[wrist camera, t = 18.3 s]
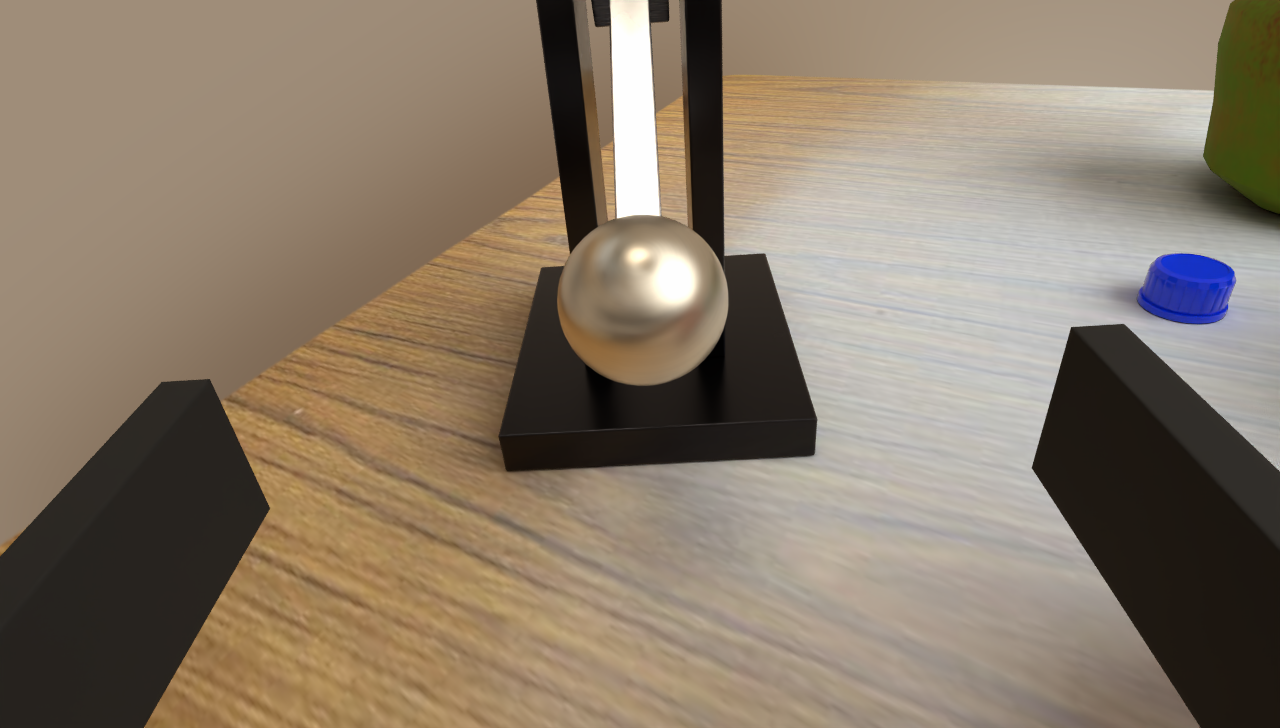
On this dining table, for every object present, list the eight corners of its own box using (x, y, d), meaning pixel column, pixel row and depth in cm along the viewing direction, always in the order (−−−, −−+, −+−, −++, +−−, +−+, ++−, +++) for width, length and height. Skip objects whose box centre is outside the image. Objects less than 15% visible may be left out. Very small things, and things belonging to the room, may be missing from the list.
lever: (730, 403, 19) (740, 341, 15) (571, 412, 19) (541, 353, 15) (693, -28, 24) (694, -153, 20) (568, -18, 24) (546, -141, 20)
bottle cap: (1244, 312, 29) (1261, 272, 29) (1188, 331, 29) (1203, 291, 28) (1173, 280, 32) (1186, 243, 31) (1119, 297, 31) (1131, 260, 30)
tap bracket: (815, 456, 24) (858, -134, 16) (505, 472, 25) (379, -93, 16) (764, 283, 34) (773, -135, 26) (545, 296, 35) (481, -110, 26)
